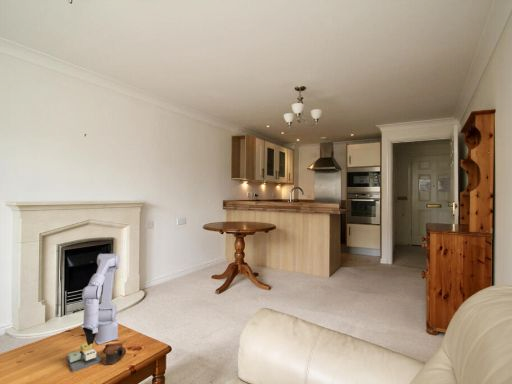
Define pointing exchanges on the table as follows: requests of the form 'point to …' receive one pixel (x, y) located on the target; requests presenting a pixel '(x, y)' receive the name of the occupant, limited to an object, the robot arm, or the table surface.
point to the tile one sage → (74, 356)
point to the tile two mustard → (86, 347)
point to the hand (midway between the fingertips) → (90, 343)
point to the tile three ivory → (89, 354)
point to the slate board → (83, 362)
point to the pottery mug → (113, 353)
